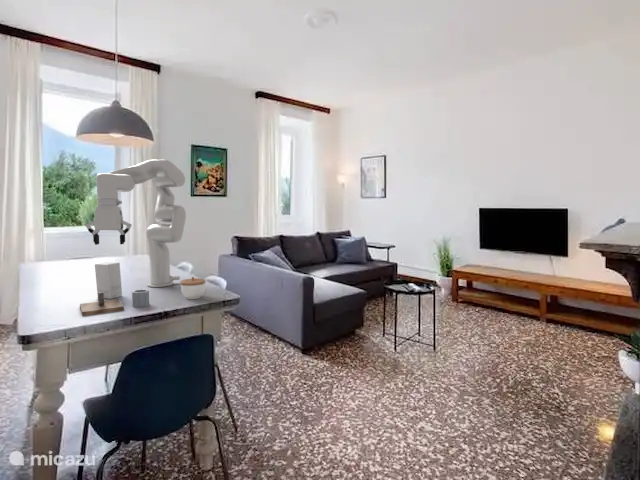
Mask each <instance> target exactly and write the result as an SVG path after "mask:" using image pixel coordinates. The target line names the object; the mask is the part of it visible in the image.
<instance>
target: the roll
mask: <svg viewBox="0 0 640 480" xmlns="http://www.w3.org/2000/svg"><path fill="white" fill-rule="evenodd" d="M131 297H132V298H131V299H132V307H133V308H142V307H143V308H144V307H148V306H149V305H150V290H149V289H142V288H141V289H135V290H133V291H131Z"/></svg>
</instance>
